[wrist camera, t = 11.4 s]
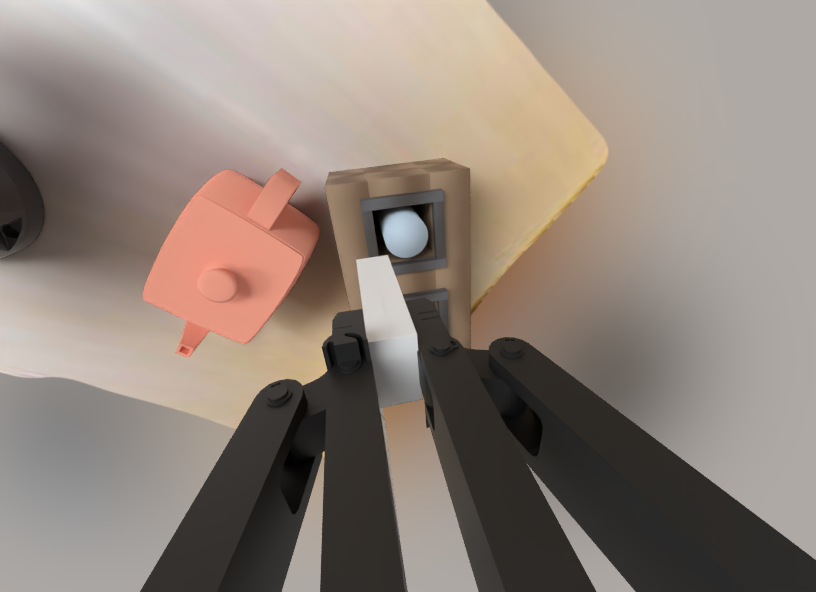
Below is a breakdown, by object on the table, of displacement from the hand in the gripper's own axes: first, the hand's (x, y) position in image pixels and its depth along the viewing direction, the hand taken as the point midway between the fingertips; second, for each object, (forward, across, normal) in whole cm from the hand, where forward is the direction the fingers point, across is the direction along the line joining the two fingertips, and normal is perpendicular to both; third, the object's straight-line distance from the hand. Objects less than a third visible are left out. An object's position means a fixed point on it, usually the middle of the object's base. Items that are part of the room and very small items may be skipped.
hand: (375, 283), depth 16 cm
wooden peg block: (+28, +5, -9) cm, 30 cm away
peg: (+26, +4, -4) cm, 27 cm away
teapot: (+29, -13, -6) cm, 32 cm away
